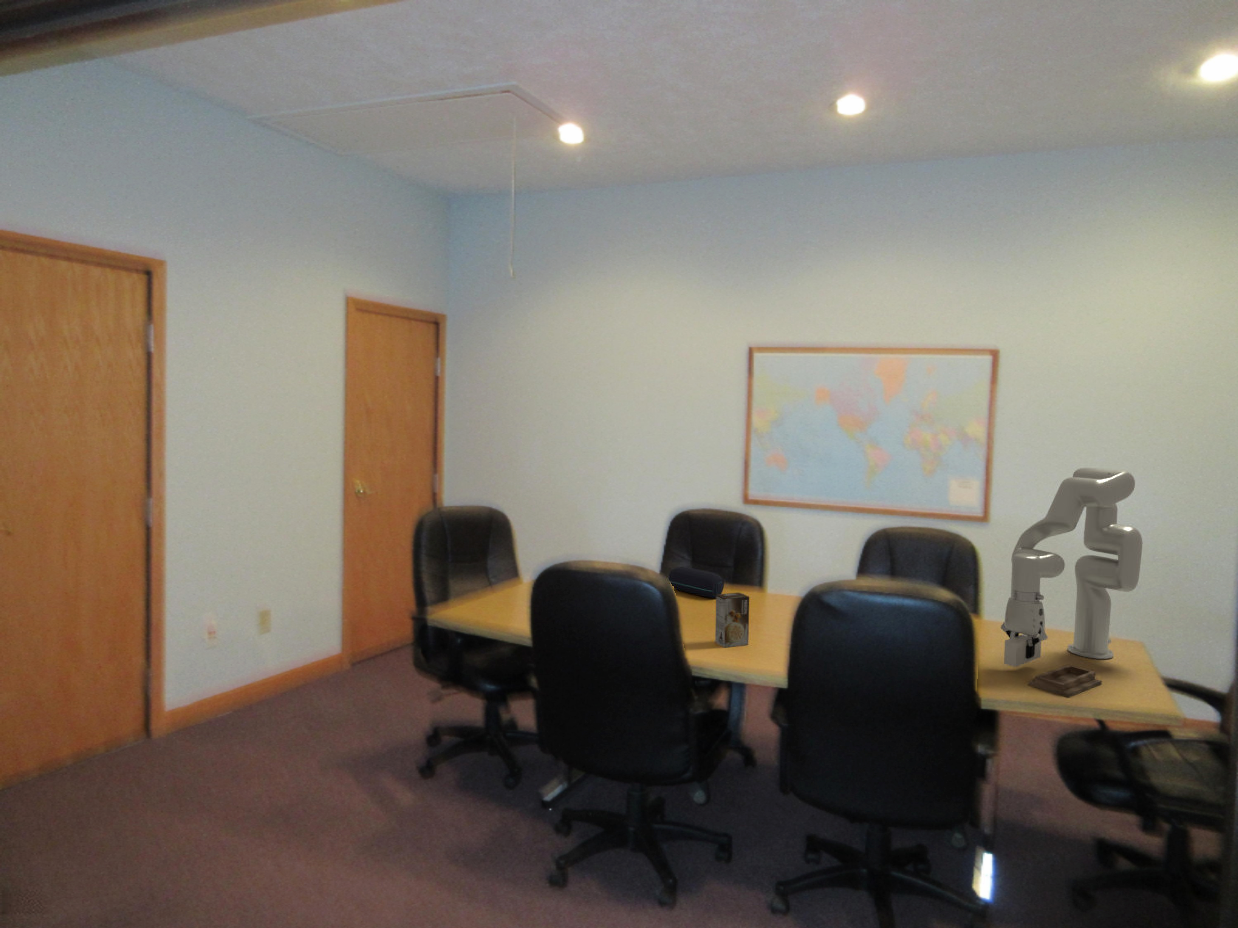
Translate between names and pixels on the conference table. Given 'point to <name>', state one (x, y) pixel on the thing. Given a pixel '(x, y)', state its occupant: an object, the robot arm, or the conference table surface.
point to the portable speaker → (696, 581)
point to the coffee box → (732, 619)
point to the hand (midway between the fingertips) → (1022, 655)
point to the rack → (1066, 681)
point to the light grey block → (1019, 651)
